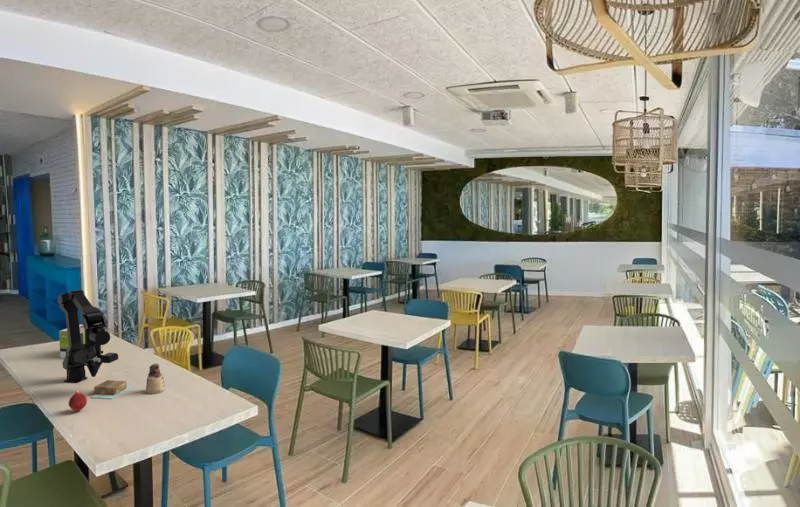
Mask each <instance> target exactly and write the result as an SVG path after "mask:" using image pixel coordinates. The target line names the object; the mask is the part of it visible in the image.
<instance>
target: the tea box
mask: <svg viewBox="0 0 800 507" xmlns="http://www.w3.org/2000/svg"><path fill="white" fill-rule="evenodd" d="M79 327H80V335H81V343H82V345H83V344H85V329H84V327H83V325H82V323H79ZM58 338H59V340H58V341H59V355H60V356H59V357H60V358H61V359H64V358H65V356H66V351H67V349H68V347H69V341H68V333H67V328H63V329H61V330H59V331H58Z"/></svg>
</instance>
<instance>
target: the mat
mask: <svg viewBox="0 0 800 507" xmlns="http://www.w3.org/2000/svg"><path fill="white" fill-rule="evenodd" d="M133 388H134V385H126V389H124V390H122V391H120V392H118V393H117V394H115V395H106V394H93V395H92V396H91V397H90V399H101V398H102V399H103V400H104V399H105V400H113V399H115V398H116V397H118V396H120V395H122V394H123V393H125V392H127V391H130V389H133ZM102 399H101V400H102Z"/></svg>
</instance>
